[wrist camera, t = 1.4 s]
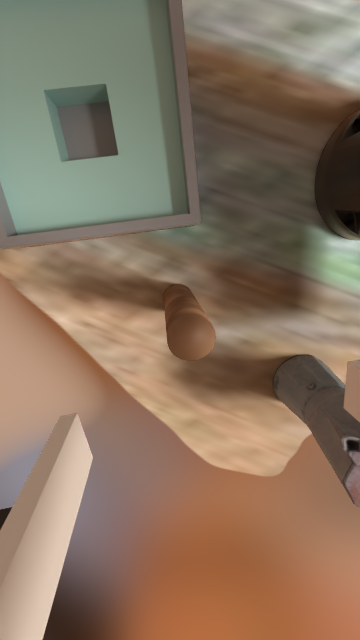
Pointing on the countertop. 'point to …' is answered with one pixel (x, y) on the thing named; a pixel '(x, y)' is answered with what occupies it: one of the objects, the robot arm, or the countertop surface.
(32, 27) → the bore box
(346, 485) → the moka pot
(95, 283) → the countertop surface
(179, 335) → the walnut peg
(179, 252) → the countertop surface
